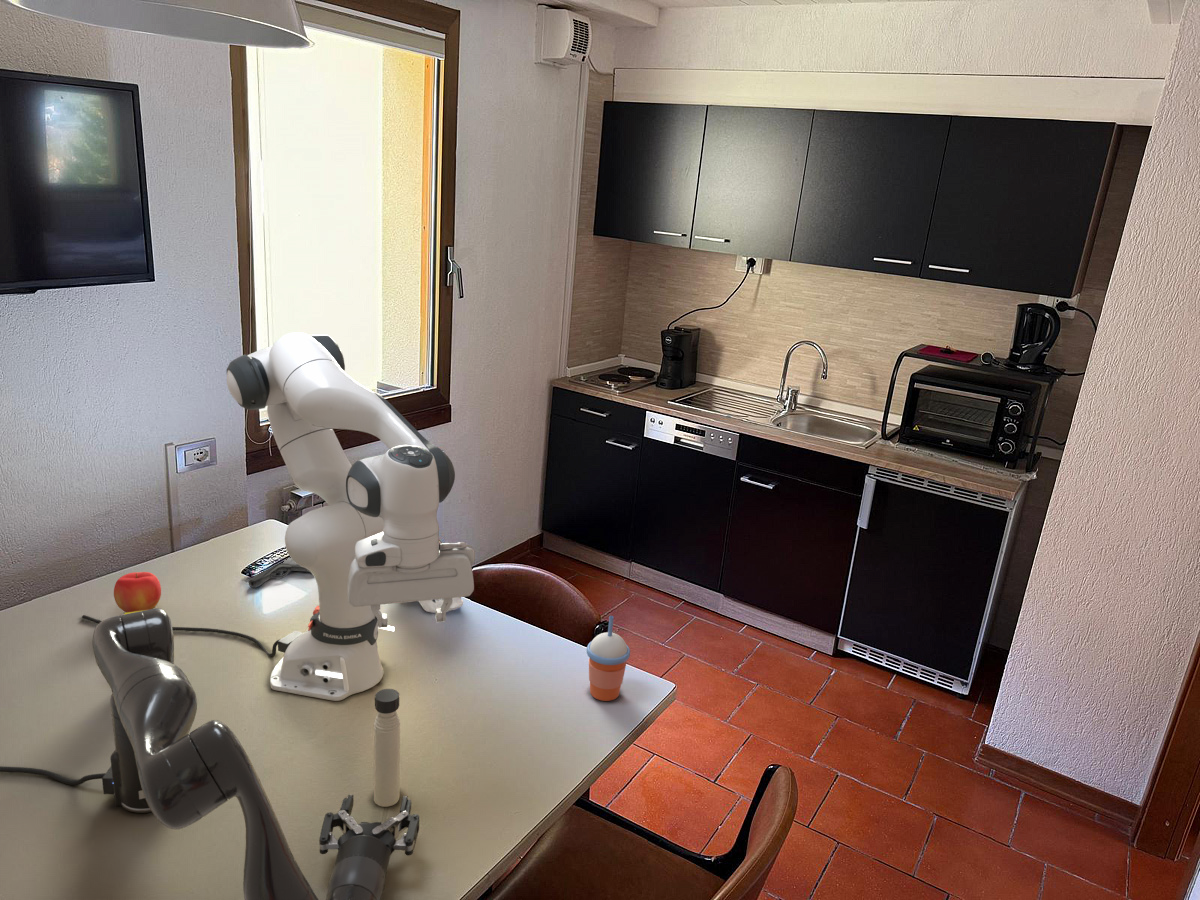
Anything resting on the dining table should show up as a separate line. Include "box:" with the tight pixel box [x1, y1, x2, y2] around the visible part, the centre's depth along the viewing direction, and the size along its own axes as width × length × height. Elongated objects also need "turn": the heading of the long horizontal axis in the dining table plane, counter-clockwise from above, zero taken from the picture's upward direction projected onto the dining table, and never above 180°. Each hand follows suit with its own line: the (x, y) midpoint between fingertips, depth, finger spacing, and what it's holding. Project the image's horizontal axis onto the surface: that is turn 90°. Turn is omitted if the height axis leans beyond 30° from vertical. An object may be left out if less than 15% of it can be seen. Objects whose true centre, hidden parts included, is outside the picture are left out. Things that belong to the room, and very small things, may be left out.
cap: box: [374, 688, 400, 714], centre depth 140 cm, size 4×4×2 cm
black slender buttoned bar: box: [248, 558, 311, 588], centre depth 220 cm, size 2×18×12 cm
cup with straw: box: [586, 615, 631, 702], centre depth 178 cm, size 9×9×18 cm
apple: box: [113, 571, 162, 613], centre depth 195 cm, size 10×10×10 cm
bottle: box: [373, 710, 401, 808], centre depth 143 cm, size 4×4×20 cm
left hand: (378, 799), depth 136 cm, fingers open, 8 cm apart
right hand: (411, 623), depth 142 cm, fingers open, 8 cm apart
